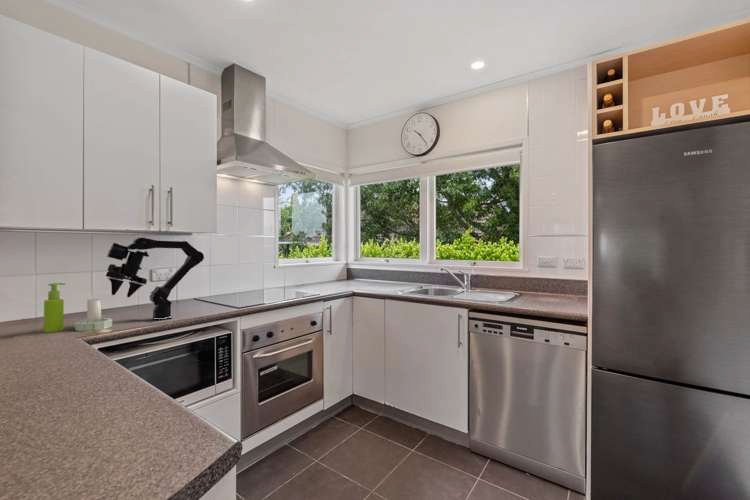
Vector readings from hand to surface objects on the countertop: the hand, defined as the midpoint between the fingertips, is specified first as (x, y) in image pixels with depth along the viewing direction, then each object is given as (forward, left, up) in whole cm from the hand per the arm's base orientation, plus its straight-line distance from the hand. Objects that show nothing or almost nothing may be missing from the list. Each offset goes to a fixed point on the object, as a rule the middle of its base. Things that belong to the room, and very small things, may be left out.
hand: (120, 296), depth 157 cm
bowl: (+11, +3, -13) cm, 17 cm away
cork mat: (+13, +14, -13) cm, 23 cm away
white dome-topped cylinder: (+10, +3, -12) cm, 16 cm away
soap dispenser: (+22, -4, -13) cm, 25 cm away
